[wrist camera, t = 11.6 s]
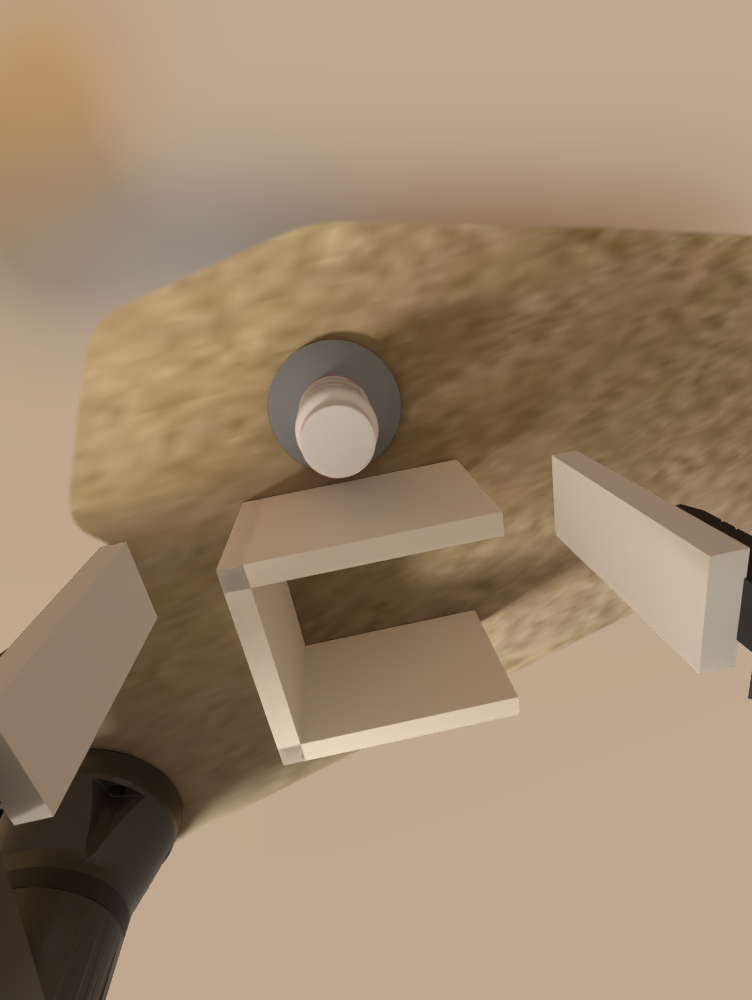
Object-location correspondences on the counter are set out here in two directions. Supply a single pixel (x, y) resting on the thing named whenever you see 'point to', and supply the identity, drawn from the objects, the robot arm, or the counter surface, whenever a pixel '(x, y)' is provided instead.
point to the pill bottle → (336, 427)
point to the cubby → (374, 655)
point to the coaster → (325, 362)
